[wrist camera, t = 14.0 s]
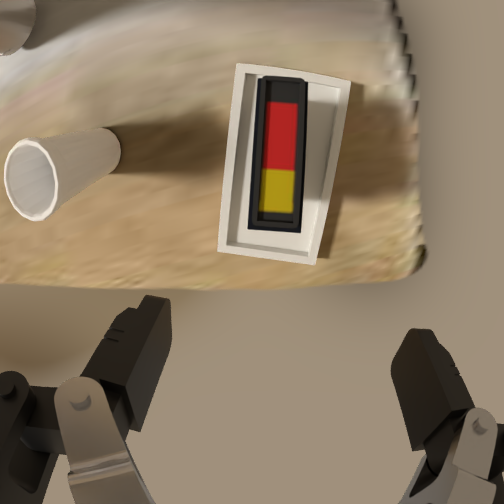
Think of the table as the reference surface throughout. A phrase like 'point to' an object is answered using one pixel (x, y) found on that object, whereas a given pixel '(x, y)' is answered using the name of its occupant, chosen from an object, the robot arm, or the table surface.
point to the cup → (57, 169)
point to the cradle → (316, 167)
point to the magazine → (278, 155)
